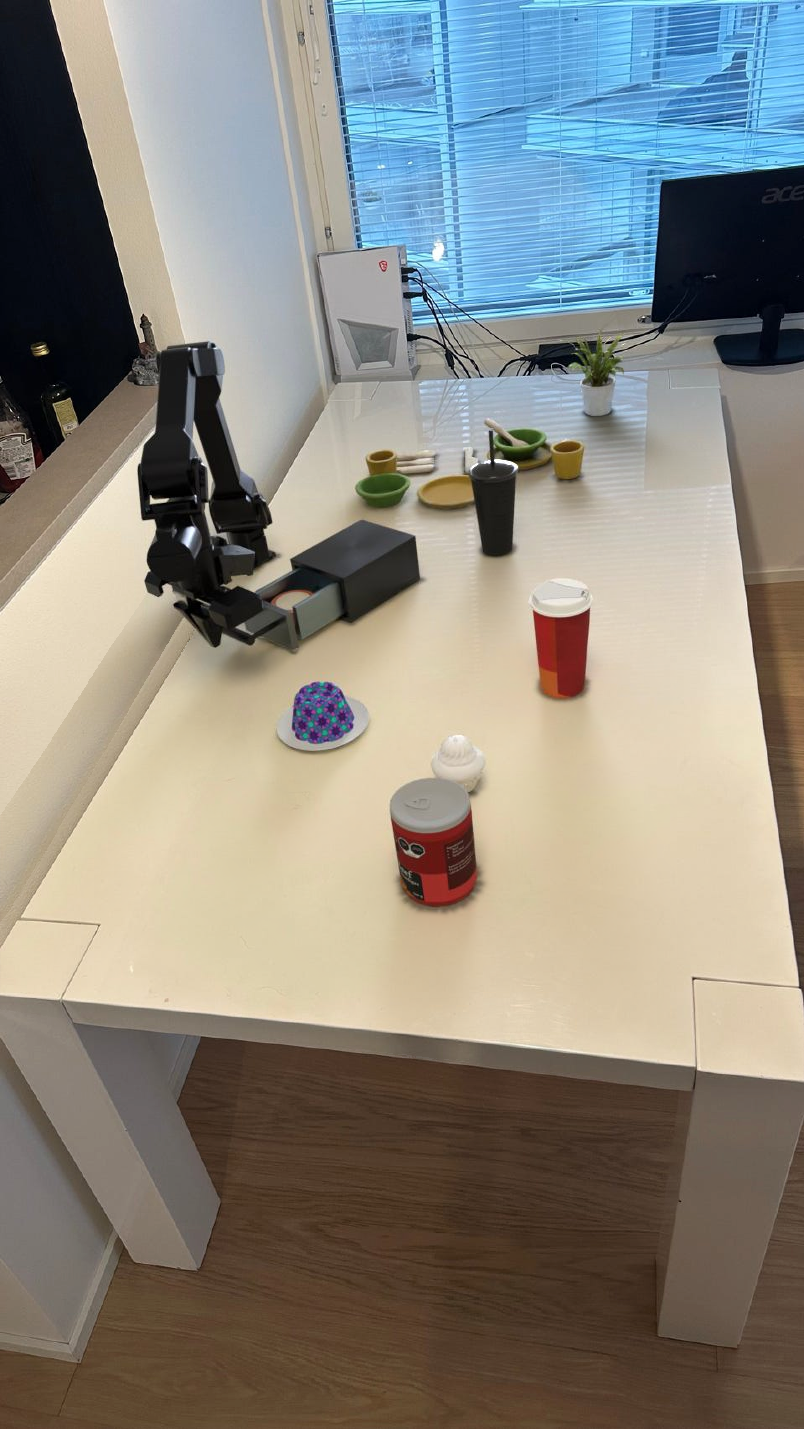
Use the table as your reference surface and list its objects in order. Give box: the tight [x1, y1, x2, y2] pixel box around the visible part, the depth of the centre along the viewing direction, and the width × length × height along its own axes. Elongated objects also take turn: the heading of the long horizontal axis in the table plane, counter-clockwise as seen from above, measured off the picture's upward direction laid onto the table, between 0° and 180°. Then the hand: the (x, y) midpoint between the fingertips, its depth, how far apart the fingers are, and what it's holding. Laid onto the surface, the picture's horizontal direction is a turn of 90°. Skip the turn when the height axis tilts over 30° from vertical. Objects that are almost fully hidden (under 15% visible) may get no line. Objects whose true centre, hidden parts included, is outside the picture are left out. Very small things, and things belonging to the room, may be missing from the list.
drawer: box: [222, 567, 346, 651], centre depth 147 cm, size 20×10×6 cm, turn 138°
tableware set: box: [354, 417, 585, 509], centre depth 186 cm, size 41×28×6 cm
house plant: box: [557, 329, 627, 417], centre depth 203 cm, size 14×14×16 cm
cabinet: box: [289, 518, 421, 624], centre depth 155 cm, size 16×12×8 cm
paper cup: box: [527, 577, 594, 699], centre depth 127 cm, size 8×8×14 cm
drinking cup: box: [467, 428, 519, 557], centre depth 158 cm, size 8×8×20 cm
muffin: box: [430, 734, 486, 794], centre depth 115 cm, size 6×6×7 cm
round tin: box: [271, 590, 314, 626], centre depth 148 cm, size 7×7×3 cm
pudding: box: [275, 681, 370, 752], centre depth 128 cm, size 12×12×5 cm
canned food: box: [389, 777, 478, 907], centre depth 102 cm, size 8×8×11 cm
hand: (215, 645), depth 140 cm, fingers closed
